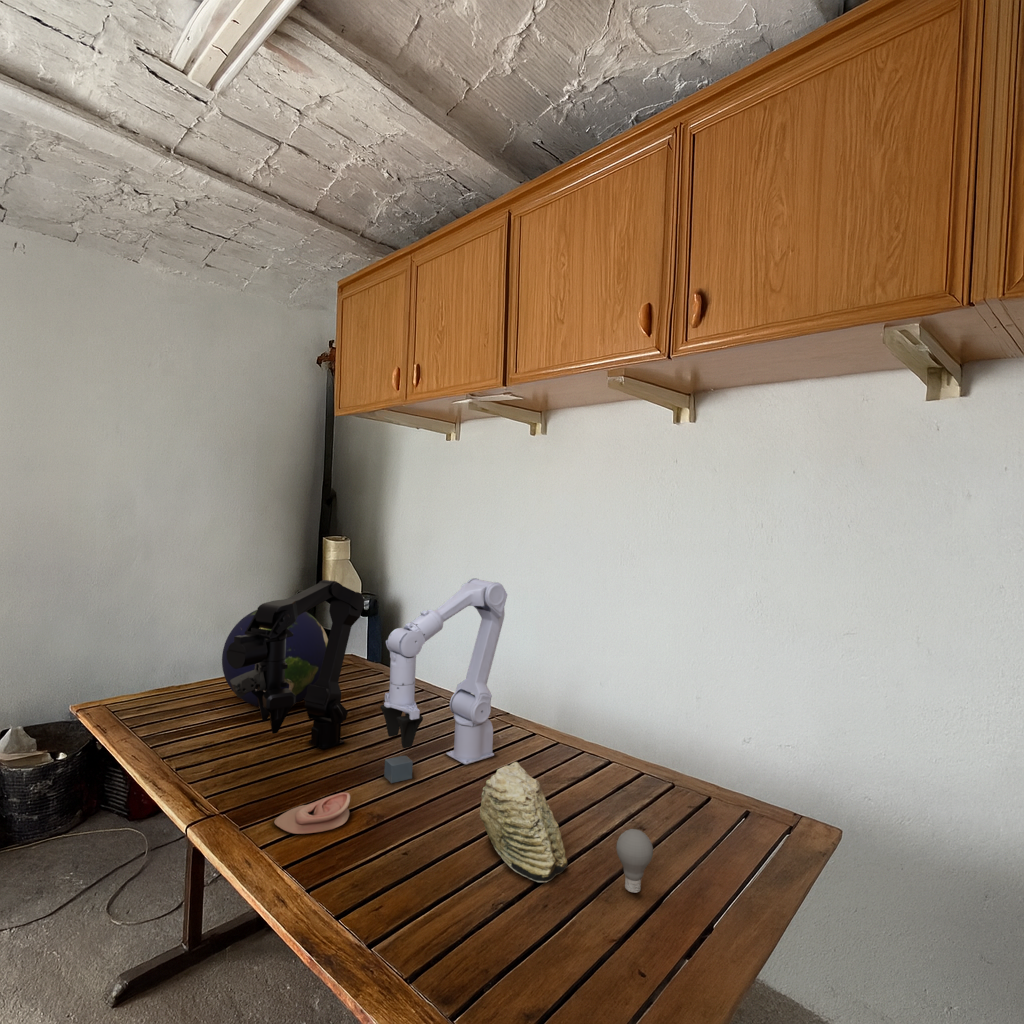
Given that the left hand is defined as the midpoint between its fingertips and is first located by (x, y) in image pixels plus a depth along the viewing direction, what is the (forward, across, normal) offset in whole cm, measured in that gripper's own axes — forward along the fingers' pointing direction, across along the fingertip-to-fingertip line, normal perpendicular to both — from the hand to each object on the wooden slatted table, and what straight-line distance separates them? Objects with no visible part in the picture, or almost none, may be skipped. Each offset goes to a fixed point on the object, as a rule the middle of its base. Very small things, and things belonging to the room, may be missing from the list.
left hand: (269, 726), depth 145 cm
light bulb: (+10, +76, +40) cm, 86 cm away
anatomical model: (+10, +27, +2) cm, 29 cm away
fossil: (+10, +58, +30) cm, 66 cm away
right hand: (+2, +18, +24) cm, 30 cm away
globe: (+10, -44, +13) cm, 47 cm away
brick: (+10, +18, +24) cm, 32 cm away
